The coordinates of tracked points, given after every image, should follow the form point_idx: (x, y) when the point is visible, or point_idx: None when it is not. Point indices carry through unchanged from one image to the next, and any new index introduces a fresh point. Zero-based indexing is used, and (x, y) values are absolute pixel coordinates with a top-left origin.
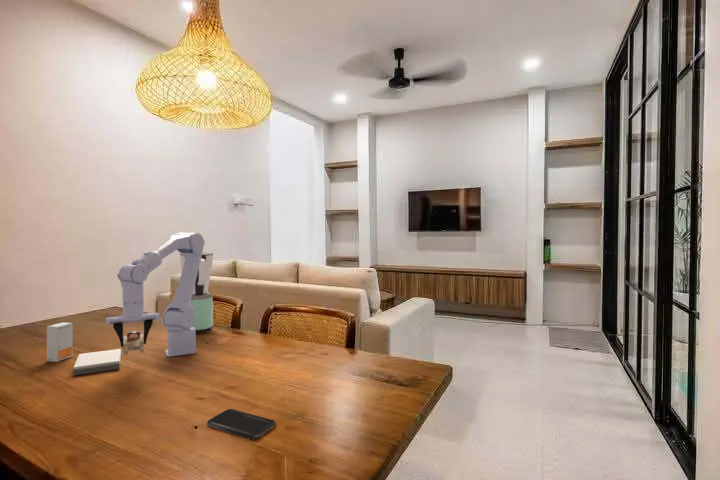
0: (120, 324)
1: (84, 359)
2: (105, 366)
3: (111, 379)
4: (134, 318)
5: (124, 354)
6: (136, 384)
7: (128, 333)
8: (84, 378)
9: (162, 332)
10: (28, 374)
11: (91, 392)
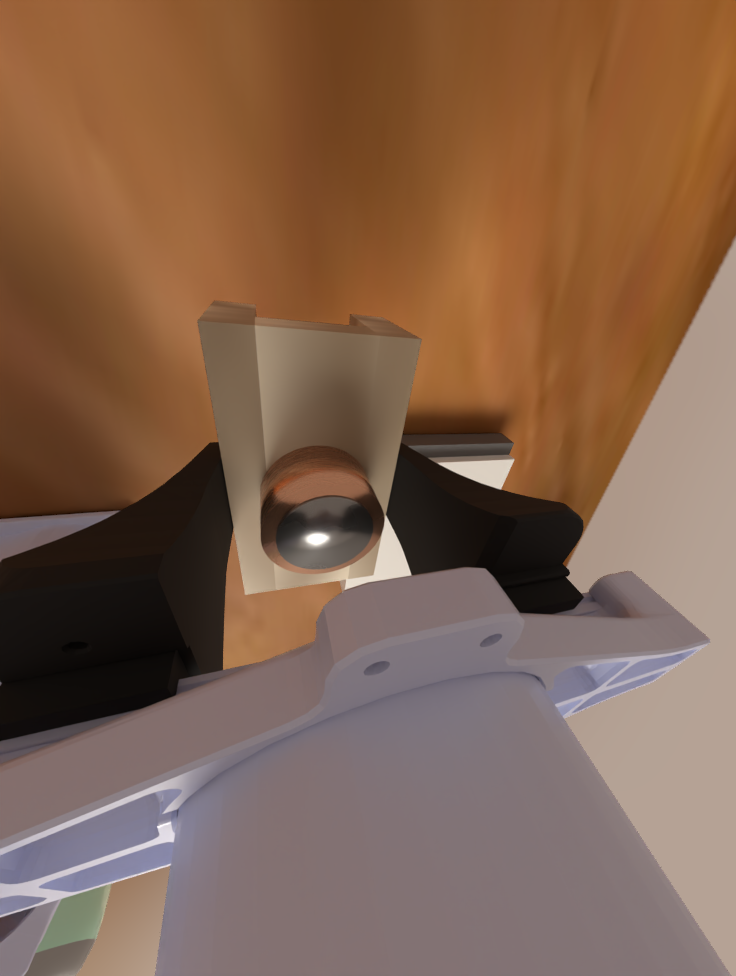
0: (504, 585)
1: None
2: (412, 444)
3: (398, 297)
4: (415, 637)
5: (376, 319)
6: (263, 13)
7: (373, 516)
8: (480, 387)
9: None
10: (565, 502)
11: (523, 94)
